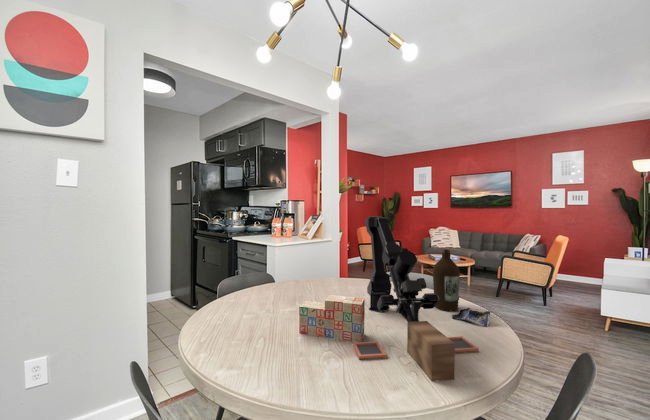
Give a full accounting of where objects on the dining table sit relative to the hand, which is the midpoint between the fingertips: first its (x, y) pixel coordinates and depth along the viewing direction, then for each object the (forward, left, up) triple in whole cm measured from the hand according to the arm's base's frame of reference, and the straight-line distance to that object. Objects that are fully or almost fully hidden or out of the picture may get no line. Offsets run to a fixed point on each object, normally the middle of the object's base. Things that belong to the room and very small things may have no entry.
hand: (416, 329), depth 83 cm
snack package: (+14, +34, -7) cm, 37 cm away
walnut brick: (+4, -6, -7) cm, 10 cm away
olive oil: (+5, +44, -7) cm, 45 cm away
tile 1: (-12, -7, -6) cm, 15 cm away
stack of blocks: (-27, -1, -7) cm, 28 cm away
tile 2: (+11, +9, -6) cm, 16 cm away
